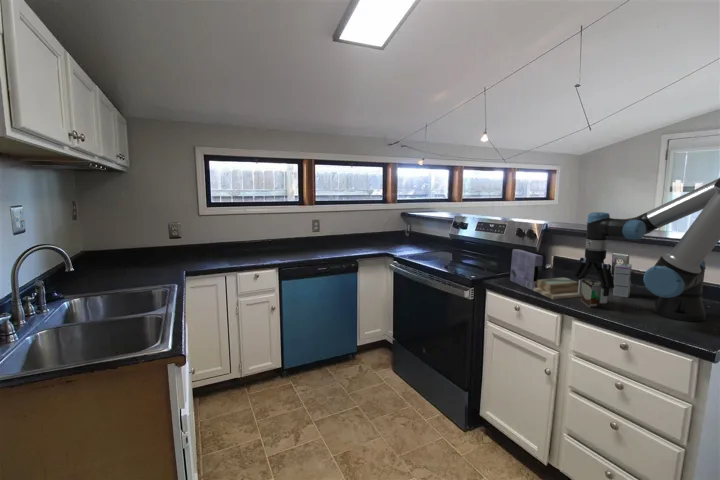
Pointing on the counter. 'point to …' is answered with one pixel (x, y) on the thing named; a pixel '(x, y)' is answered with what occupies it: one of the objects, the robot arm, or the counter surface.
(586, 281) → the food container
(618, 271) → the syrup box
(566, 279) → the base
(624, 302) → the counter surface
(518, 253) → the cake pan box
